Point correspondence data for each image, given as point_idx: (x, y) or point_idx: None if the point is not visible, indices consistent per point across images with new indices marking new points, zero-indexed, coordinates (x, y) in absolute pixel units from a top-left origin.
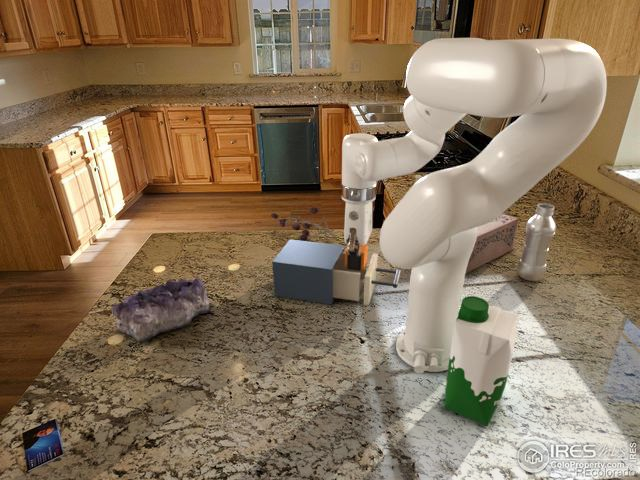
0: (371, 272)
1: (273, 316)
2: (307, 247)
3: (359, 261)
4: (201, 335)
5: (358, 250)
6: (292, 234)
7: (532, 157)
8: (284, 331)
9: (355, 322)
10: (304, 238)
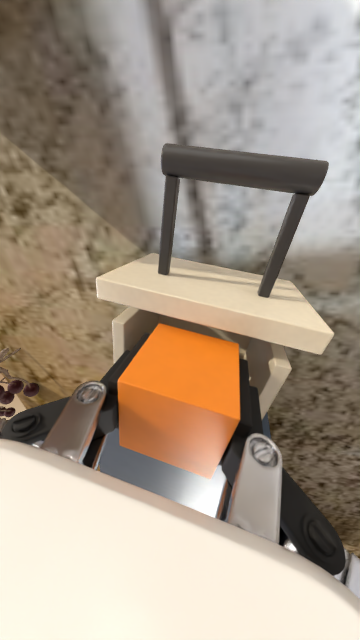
0: (284, 321)
1: (291, 446)
2: (132, 473)
3: (248, 398)
4: (328, 513)
5: (279, 498)
6: (27, 397)
7: None
8: (349, 440)
9: (354, 315)
10: (34, 390)
